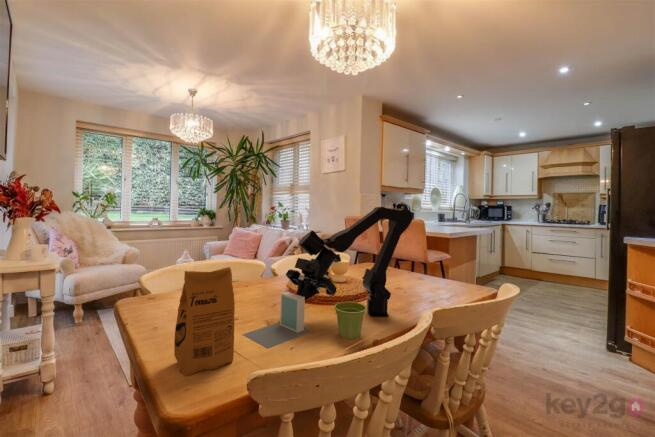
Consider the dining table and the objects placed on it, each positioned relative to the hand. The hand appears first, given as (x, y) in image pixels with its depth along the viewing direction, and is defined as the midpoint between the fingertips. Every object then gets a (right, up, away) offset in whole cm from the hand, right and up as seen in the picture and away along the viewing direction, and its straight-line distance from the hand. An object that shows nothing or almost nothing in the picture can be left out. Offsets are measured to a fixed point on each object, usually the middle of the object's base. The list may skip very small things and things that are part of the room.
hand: (295, 304), depth 93 cm
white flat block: (-1, -7, -1) cm, 7 cm away
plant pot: (+16, -8, -5) cm, 19 cm away
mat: (-5, -7, -5) cm, 10 cm away
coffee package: (-19, -8, -22) cm, 30 cm away
